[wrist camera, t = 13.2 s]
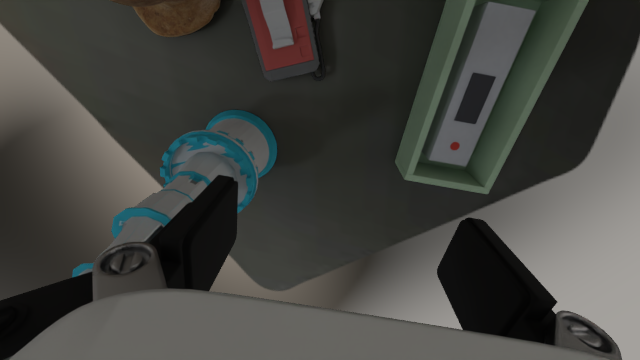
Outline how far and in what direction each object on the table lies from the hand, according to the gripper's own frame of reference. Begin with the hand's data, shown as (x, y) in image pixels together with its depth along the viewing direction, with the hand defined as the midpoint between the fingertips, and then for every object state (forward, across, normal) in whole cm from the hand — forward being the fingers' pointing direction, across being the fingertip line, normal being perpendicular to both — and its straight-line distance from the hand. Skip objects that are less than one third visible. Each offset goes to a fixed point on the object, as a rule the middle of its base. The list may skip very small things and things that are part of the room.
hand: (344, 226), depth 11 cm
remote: (+24, -14, -5) cm, 28 cm away
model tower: (+24, +12, +7) cm, 28 cm away
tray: (+24, -14, -5) cm, 28 cm away
